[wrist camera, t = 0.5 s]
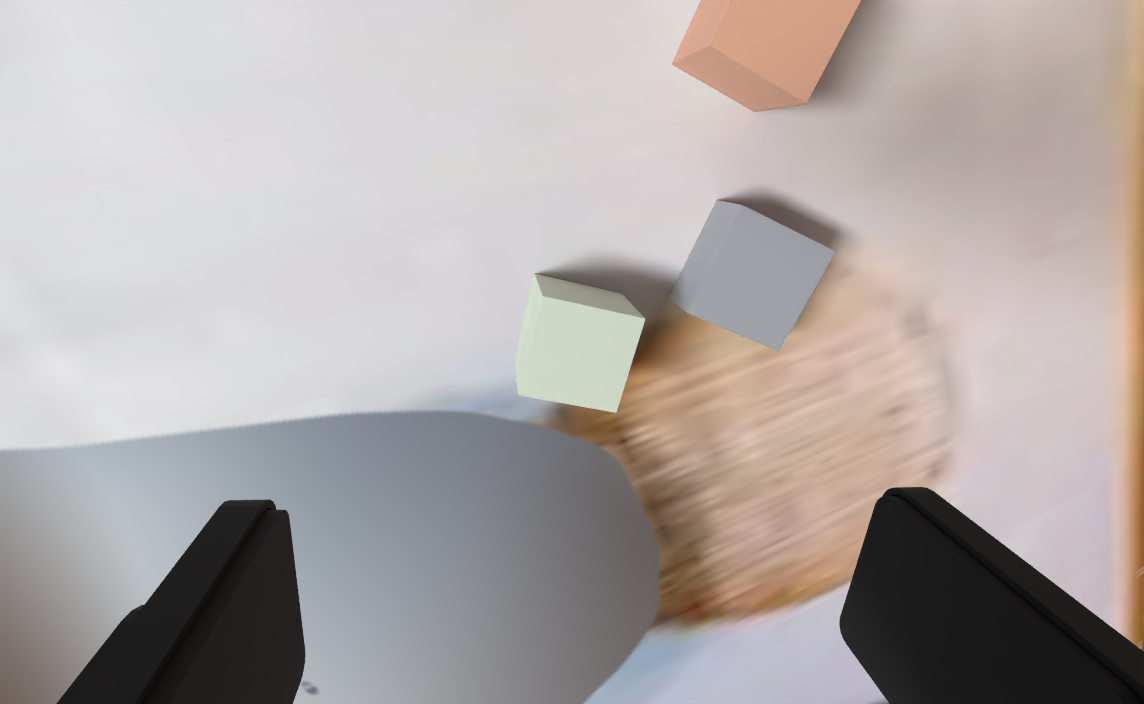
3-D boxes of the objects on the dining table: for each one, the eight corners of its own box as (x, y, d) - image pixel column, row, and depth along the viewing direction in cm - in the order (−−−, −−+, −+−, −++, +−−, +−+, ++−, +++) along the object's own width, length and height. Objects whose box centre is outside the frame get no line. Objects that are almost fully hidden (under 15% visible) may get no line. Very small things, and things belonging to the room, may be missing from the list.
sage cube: (534, 273, 35) (542, 296, 29) (621, 293, 36) (645, 318, 31) (514, 358, 37) (518, 395, 31) (597, 374, 38) (616, 412, 32)
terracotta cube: (720, -44, 30) (772, -89, 25) (804, 11, 32) (870, -19, 26) (671, 64, 32) (709, 45, 26) (753, 112, 33) (806, 103, 28)
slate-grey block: (715, 199, 35) (742, 204, 31) (800, 241, 37) (835, 251, 33) (667, 297, 37) (687, 312, 33) (750, 332, 39) (778, 351, 35)
